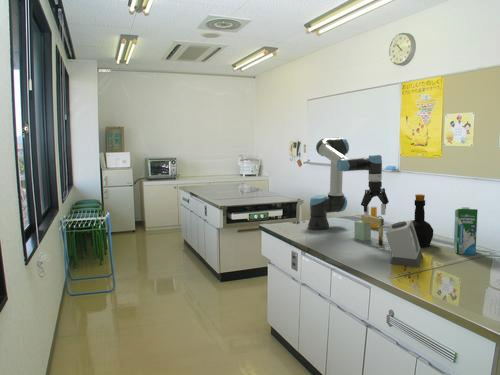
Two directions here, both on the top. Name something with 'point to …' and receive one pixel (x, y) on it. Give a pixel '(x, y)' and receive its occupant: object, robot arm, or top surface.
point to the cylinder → (374, 214)
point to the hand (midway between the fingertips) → (374, 215)
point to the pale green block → (362, 230)
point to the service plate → (372, 242)
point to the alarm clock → (404, 244)
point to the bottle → (422, 223)
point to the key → (377, 222)
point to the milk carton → (465, 231)
